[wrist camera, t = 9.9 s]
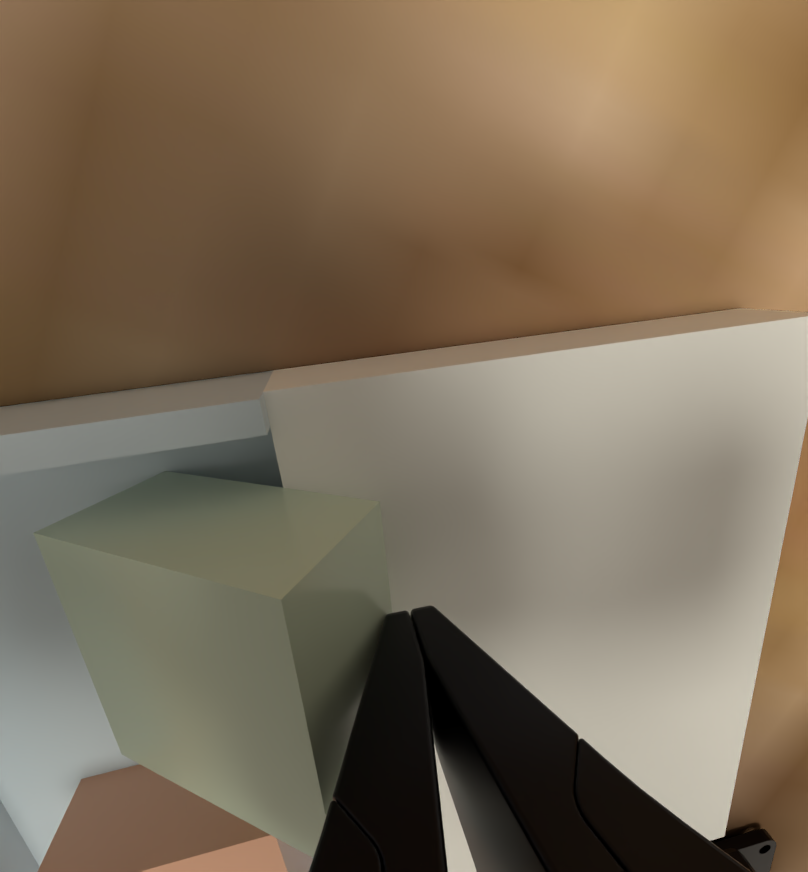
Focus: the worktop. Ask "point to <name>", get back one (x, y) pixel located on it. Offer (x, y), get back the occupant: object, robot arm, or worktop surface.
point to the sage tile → (228, 635)
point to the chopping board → (583, 519)
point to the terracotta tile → (159, 831)
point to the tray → (33, 587)
